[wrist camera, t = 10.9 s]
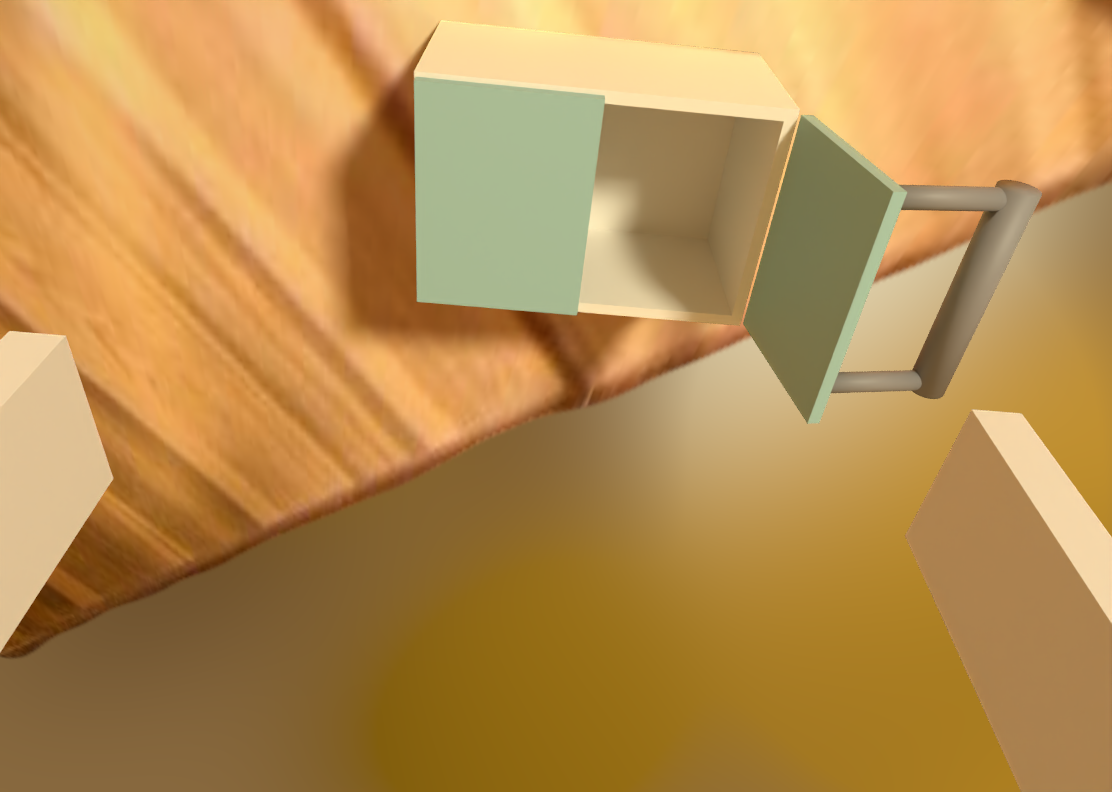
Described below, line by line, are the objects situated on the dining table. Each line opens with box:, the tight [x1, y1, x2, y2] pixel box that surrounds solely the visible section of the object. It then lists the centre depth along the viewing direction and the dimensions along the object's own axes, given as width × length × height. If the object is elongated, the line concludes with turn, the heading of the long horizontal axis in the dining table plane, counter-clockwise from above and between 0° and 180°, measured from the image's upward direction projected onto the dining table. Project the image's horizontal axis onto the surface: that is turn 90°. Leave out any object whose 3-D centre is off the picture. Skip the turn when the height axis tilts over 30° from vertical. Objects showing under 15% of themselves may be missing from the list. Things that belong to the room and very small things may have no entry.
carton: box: [414, 20, 800, 326], centre depth 44 cm, size 18×12×10 cm, turn 85°
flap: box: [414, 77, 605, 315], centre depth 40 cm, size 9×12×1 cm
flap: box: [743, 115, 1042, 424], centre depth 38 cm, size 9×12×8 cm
